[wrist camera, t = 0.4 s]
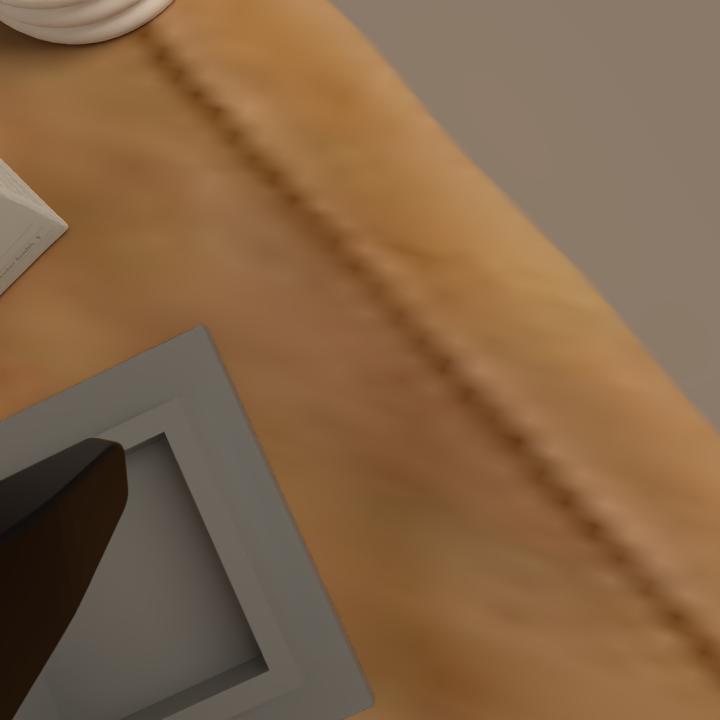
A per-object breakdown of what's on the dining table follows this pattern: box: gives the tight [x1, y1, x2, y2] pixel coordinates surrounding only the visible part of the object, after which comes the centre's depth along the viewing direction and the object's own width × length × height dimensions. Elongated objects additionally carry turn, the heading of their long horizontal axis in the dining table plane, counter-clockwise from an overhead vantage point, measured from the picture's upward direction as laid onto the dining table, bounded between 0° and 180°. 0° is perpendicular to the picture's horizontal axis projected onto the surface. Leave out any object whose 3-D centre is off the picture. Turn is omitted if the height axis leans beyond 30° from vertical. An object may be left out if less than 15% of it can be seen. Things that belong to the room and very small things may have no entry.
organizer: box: [0, 325, 375, 720], centre depth 22 cm, size 14×12×3 cm
